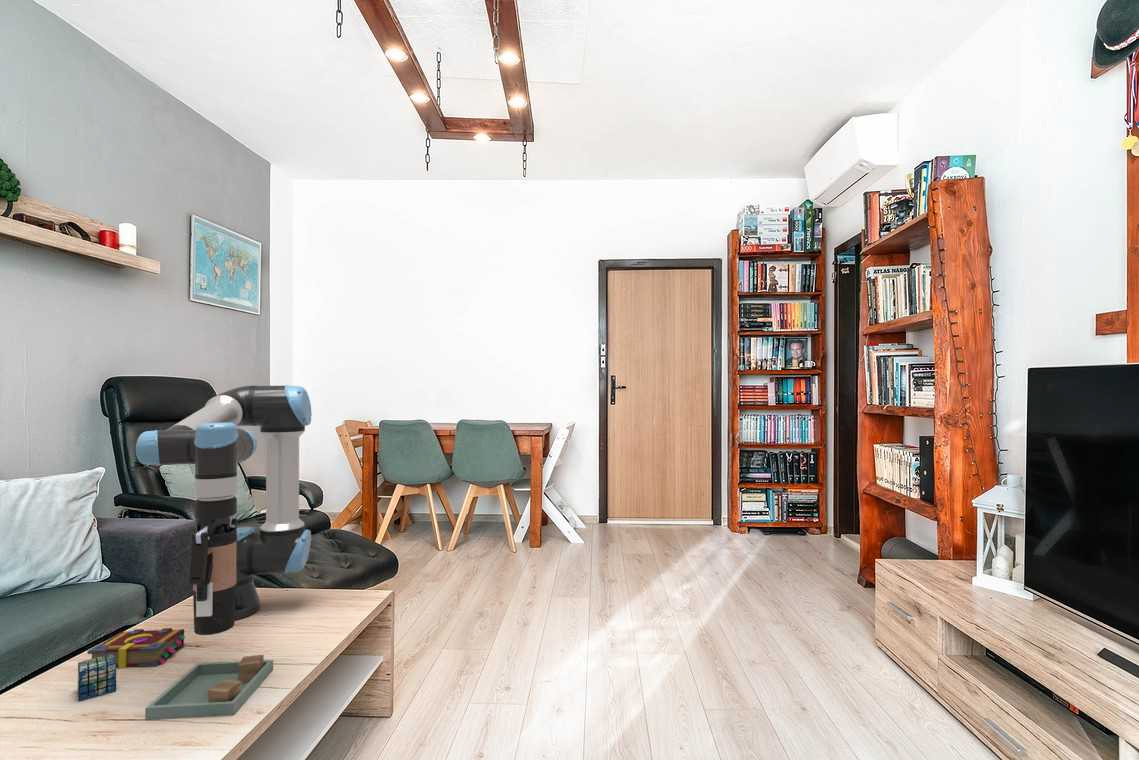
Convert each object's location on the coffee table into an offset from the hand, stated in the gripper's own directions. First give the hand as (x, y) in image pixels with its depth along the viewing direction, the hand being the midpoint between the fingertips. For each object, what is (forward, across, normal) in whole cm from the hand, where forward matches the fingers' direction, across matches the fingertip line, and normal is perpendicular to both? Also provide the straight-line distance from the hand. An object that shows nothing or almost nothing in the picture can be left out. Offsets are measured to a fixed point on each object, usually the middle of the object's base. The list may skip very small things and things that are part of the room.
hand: (215, 607), depth 119 cm
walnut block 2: (+17, -6, +5) cm, 19 cm away
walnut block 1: (+17, +6, +5) cm, 19 cm away
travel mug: (+4, 0, 0) cm, 4 cm away
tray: (+18, 0, 0) cm, 18 cm away
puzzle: (+19, -5, -26) cm, 32 cm away
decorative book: (+19, -21, -27) cm, 39 cm away
